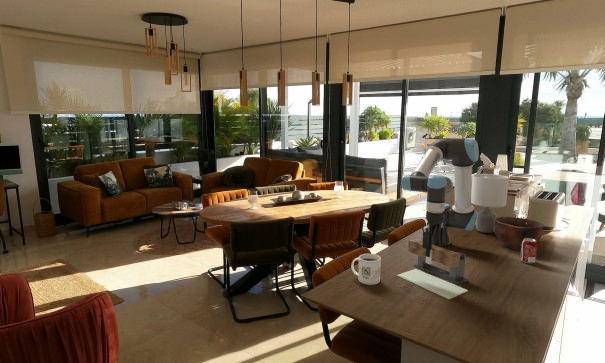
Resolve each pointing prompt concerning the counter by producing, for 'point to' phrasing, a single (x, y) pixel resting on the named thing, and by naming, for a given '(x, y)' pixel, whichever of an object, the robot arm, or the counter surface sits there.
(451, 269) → the rack
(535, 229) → the bowl
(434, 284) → the mat
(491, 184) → the lamp
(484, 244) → the counter surface
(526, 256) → the soda can
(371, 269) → the mug
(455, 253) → the rail
